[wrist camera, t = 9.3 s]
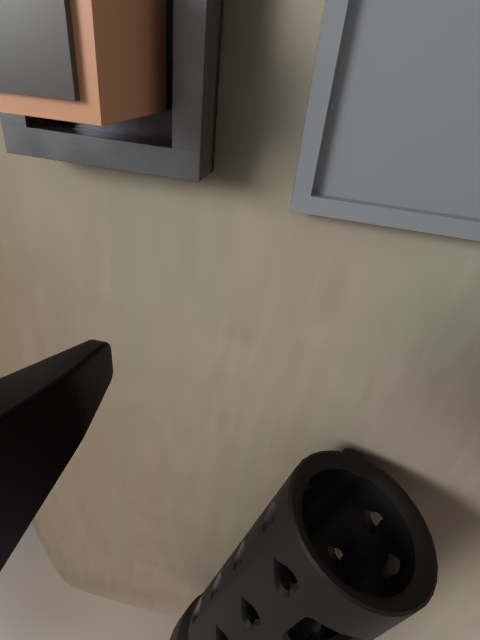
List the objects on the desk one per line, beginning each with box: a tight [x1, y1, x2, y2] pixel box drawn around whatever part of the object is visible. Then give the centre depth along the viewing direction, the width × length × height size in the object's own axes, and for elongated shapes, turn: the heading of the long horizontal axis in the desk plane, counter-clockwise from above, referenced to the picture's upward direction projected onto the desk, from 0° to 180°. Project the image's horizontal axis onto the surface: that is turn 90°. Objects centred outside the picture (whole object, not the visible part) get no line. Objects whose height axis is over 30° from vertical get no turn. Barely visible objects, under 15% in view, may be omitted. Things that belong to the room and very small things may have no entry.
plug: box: [0, 0, 166, 126], centre depth 14 cm, size 4×4×6 cm
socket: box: [0, 0, 224, 182], centre depth 16 cm, size 9×9×2 cm
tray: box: [290, 0, 480, 241], centre depth 15 cm, size 11×11×1 cm
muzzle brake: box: [170, 448, 438, 640], centre depth 30 cm, size 10×28×10 cm, turn 160°
